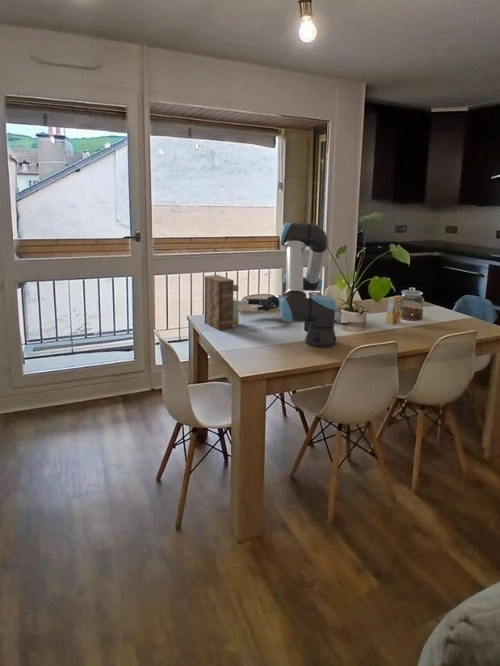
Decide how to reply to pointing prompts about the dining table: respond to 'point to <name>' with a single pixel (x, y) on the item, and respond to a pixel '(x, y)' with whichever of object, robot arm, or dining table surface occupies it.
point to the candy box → (394, 309)
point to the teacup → (338, 314)
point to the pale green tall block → (236, 309)
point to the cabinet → (219, 302)
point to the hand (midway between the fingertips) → (245, 306)
